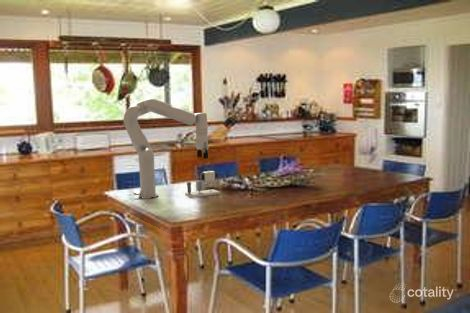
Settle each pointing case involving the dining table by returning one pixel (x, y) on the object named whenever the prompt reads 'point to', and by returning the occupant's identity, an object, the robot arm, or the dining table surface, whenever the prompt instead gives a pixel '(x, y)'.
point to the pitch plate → (199, 194)
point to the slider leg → (199, 186)
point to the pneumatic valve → (208, 177)
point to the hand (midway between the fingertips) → (202, 157)
